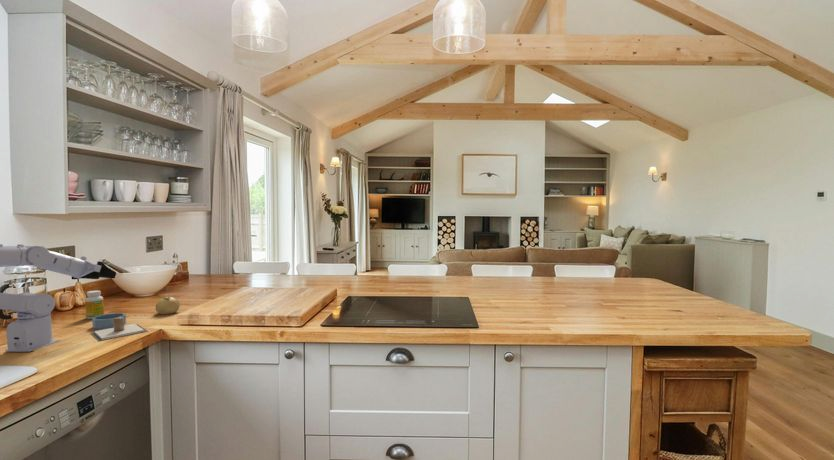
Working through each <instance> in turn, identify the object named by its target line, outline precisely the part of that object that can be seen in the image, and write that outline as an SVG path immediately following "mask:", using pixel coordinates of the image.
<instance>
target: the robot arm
mask: <svg viewBox="0 0 834 460" xmlns="http://www.w3.org/2000/svg"><path fill="white" fill-rule="evenodd" d="M87 259H88V258H87V256H81V257H80V258H78V257H73V256H70V255H67V254H64V253H61V252H56V251H54V250H53V251H51V250H49V249H48V248H46V247H45V246H43V245H41V246H40V245H24V244H19V243H18V244H17V245H6V246H5V245H4V244H2V243H0V268H2V267H3V268H4V267H5V268H6V267H7V268H8V267H19V266H21V267H23V266H33V267H37V268H40V269H43V270H46V271H49V272H54V273H59V274H61V275H66V276H70V277H71V280H79V279H88V280H99V279H101V278H103V279H104V278H105V279H115V278H116V276H117V271H115V270H113V269H111V268H109V267H108V266H107V265H106V264H105V263H104V262H103V261H100V260H99V261H97V262H96V264H94V263H92V262H91V261H88V260H87ZM55 306H56V300H55V298H54V297H53V296H52V295H50V294H48V293H34V292H30V291H29V292H28V291H25V292H21V293H8V292H7V293H6V292H0V310H5V311H13V312H15V313H16V314H17V316H16V320H15V321H12V322H10V323H9V324H8V325H7V327H6V332H5V333H6V345H7V349H5V352H7V353H8V352H9V353H10V352H15V353H16V352H17V353H19V352H20V353H23V352H26V353H27V352H28V353H29V352H33V351H35V350H38V349H41V348H43V347H46V346H49V345H53V344H56V343H58V342H60V341H61V339H53V329H52V328H53V327H52V314H51V312H53V310H54V308H55Z"/></svg>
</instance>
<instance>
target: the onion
mask: <svg viewBox="0 0 834 460" xmlns="http://www.w3.org/2000/svg"><path fill="white" fill-rule="evenodd" d="M180 306H181V304H180V301H179V300H178V299H177V298H175V297H172V296H164V297H162V298H161V299H159V300H158V301H157V302H156V305H155V311H156V313H158V315H163V316H165V315H171V314H175V313H177V312H178V311H179V310H180Z"/></svg>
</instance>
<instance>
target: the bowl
mask: <svg viewBox="0 0 834 460" xmlns="http://www.w3.org/2000/svg"><path fill="white" fill-rule="evenodd" d="M117 317H124V326H126V325H127V313H124V312H113V313H106V314H105V313H104V315H100V316H97V317H94V318H93V319H91V321H92V322H91V323H92V329H93V330H104V329H109V328H114V326H113V319H114V318H117Z"/></svg>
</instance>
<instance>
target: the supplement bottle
mask: <svg viewBox="0 0 834 460" xmlns="http://www.w3.org/2000/svg"><path fill="white" fill-rule="evenodd" d="M101 293H102V292H101V290H89V291H87V292H86V296H87V297H86V298H85V299H84V305H85V318H86V319H87V320H88V319H89V320H92V319H93V318H94V317H97V316H100V315H105V306H104V305H105V304H104V297H103V296H102V294H101Z"/></svg>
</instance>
